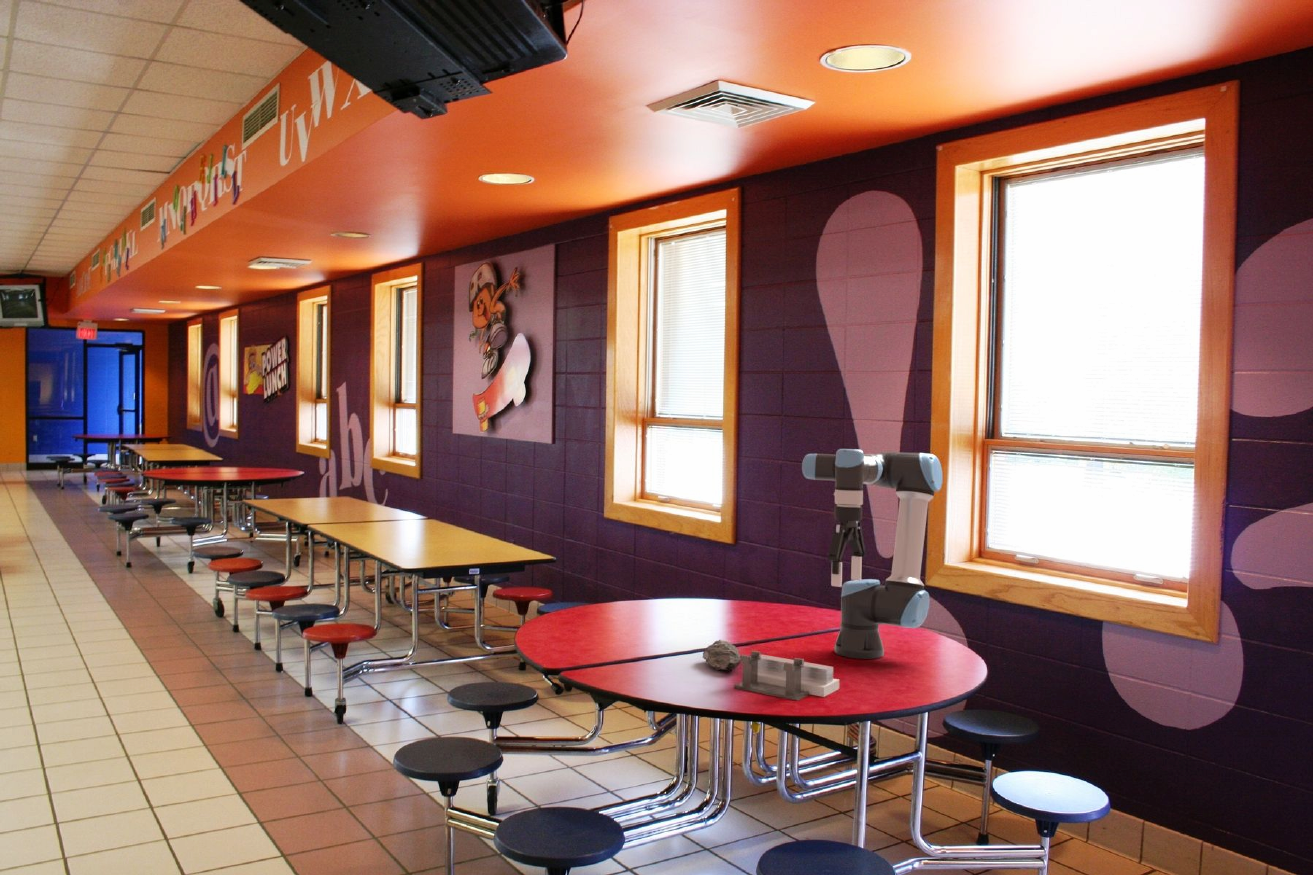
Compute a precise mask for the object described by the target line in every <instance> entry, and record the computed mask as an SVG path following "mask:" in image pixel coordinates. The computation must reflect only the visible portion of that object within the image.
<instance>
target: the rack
mask: <svg viewBox="0 0 1313 875" xmlns="http://www.w3.org/2000/svg"><path fill="white" fill-rule="evenodd" d="M761 653H762V652H761V651H758V650H751V651H750V655H748V654H747V655H746V654H740V664H742V676H741V677H742V681H740V682H738V683H735V684H734V685H733V689H738V690H742V691H745V692H746V691H747V692H753V693H757V694H761V695H762V694H763V695H767V696H771V697H776V698H781V699H786V700H792V701H796V702H797V701H800V700H802V699H804V698H805V697H808V696H809V695H810V694H809V692H808V691H803V690H801V668H802V667H804V662H805V659H804V658H798V657H794V658H793V660H794V663H787V662H785V663H784V671H786V687H782V686H776V685H771V684H766V683H761V682H757V681H758V660H760V659H761Z"/></svg>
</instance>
